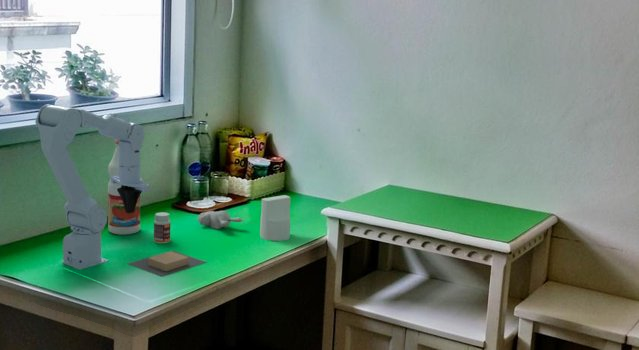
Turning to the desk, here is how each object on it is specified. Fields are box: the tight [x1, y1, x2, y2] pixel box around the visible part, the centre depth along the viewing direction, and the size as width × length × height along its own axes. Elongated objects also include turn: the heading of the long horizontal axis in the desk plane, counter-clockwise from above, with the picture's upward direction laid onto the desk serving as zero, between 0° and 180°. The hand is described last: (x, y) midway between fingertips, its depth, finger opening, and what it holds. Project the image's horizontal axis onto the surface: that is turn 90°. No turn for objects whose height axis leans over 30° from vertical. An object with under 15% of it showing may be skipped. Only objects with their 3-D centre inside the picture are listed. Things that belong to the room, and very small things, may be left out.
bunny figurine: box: [197, 210, 243, 230], centre depth 261 cm, size 10×5×15 cm
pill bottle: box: [153, 212, 171, 244], centre depth 243 cm, size 5×5×8 cm
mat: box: [127, 250, 208, 278], centre depth 225 cm, size 16×14×1 cm
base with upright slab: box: [259, 194, 291, 242], centre depth 253 cm, size 9×9×12 cm
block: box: [147, 250, 189, 271], centre depth 223 cm, size 8×2×7 cm
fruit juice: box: [107, 139, 141, 236], centre depth 250 cm, size 9×9×28 cm
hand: (130, 212), depth 235 cm, fingers closed
